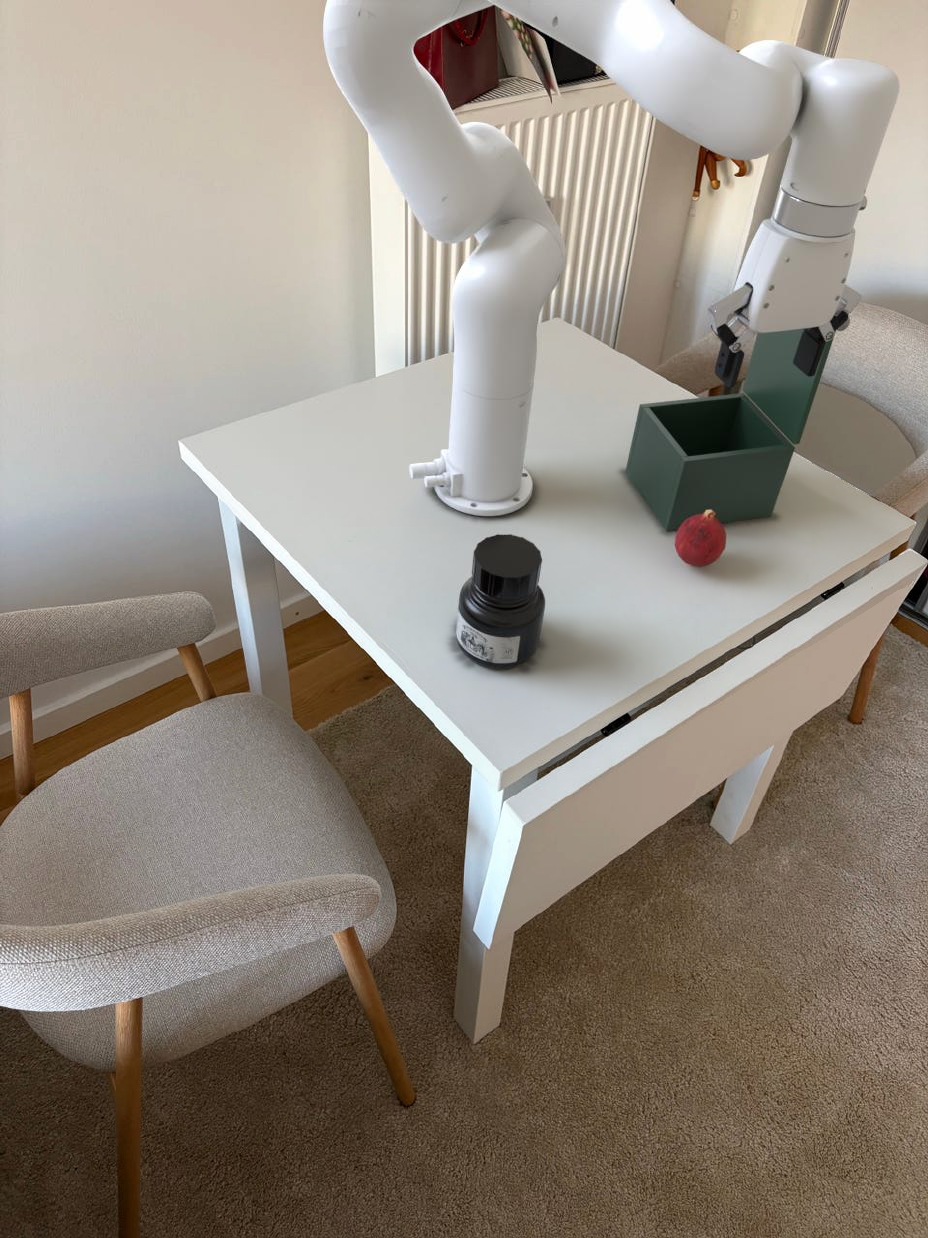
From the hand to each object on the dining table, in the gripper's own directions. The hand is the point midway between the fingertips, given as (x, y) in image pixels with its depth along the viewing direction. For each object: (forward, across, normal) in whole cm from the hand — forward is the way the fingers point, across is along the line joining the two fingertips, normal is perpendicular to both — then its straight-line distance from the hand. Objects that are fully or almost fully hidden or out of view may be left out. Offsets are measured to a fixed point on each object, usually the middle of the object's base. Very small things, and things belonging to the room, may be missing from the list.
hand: (764, 375), depth 104 cm
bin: (+24, -4, -10) cm, 26 cm away
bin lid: (+5, -11, -10) cm, 15 cm away
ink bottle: (+24, +31, +8) cm, 40 cm away
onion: (+24, +4, +2) cm, 24 cm away
